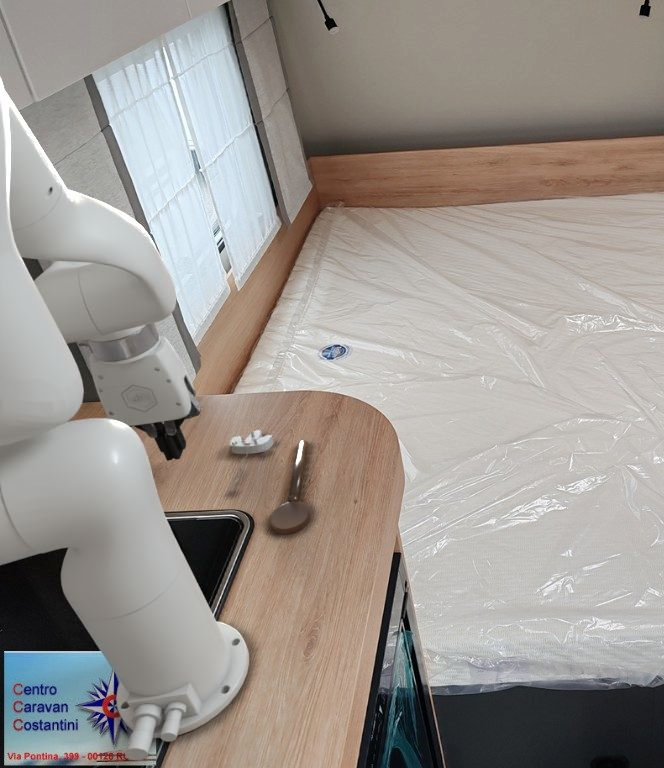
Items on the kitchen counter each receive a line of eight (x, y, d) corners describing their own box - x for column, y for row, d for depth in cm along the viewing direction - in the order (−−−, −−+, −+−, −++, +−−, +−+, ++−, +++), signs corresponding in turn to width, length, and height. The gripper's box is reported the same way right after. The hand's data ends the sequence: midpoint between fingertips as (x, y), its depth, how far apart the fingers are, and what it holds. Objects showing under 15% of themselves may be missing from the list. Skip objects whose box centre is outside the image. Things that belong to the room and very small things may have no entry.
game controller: (274, 432, 109) (269, 418, 107) (276, 484, 100) (270, 469, 98) (234, 442, 108) (228, 427, 106) (232, 495, 99) (226, 480, 97)
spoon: (309, 531, 92) (306, 523, 91) (269, 537, 92) (266, 529, 91) (322, 443, 106) (319, 435, 105) (287, 448, 106) (285, 440, 105)
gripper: (49, 363, 88) (111, 480, 99) (179, 346, 89) (226, 463, 99) (72, 331, 94) (128, 443, 105) (193, 314, 95) (237, 428, 105)
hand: (176, 453), depth 102 cm, fingers closed
